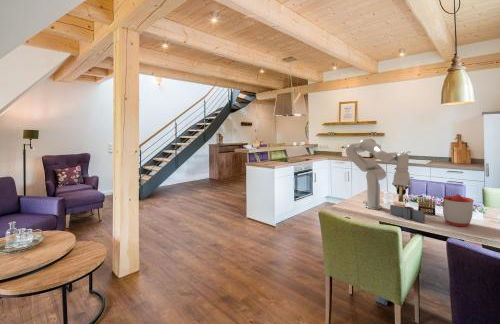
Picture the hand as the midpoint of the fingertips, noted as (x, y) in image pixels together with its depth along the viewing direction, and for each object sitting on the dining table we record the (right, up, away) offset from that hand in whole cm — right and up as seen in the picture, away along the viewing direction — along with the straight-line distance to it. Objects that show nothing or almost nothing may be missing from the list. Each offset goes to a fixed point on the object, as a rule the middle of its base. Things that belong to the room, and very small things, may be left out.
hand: (401, 194), depth 192 cm
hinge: (0, -16, -9) cm, 18 cm away
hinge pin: (0, -6, +1) cm, 6 cm away
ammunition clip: (+19, -15, -1) cm, 24 cm away
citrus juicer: (+22, -17, -23) cm, 36 cm away
